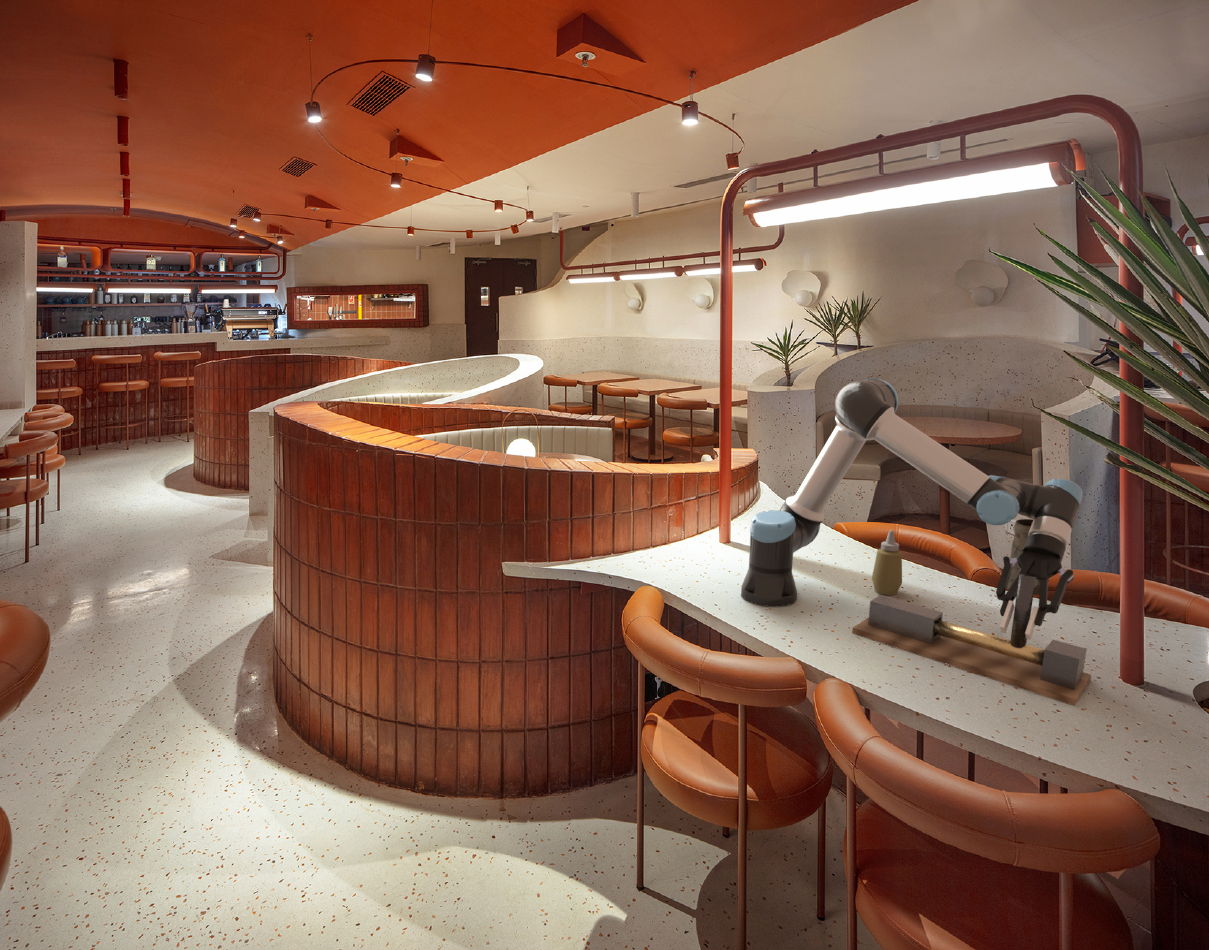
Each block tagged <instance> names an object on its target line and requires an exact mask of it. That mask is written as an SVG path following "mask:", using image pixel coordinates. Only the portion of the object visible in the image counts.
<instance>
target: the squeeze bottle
mask: <svg viewBox="0 0 1209 950" xmlns="http://www.w3.org/2000/svg"><path fill="white" fill-rule="evenodd" d="M871 581H872V585H873V588H874V591H875V592H876V593H878V594H879V595H884V596H885V595H887V596H893V595H897V594H898V592H899V590H900V588H901V585H902V584H903V554H902V552H901V551H900V544H899V543H898V542H896V539H895V531H894V530H888V533H887V537H886V539H885V541H882V542H881V544H880V549H877V551H876V555H875V560H874V566H873V570H872V575H871Z"/></svg>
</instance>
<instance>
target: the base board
mask: <svg viewBox="0 0 1209 950" xmlns="http://www.w3.org/2000/svg"><path fill="white" fill-rule="evenodd" d="M868 621H869V616H868V617H867V618H865V619H863V620H861V622H859V623H857V624H856V625H854V626H852V629H851V634H853V635H857V636H860V637H862V638H866V639H869V640H871V641H875V642H878V643H882V644H884V645H887V644H888V646H890V647H894V648H896V647H897V648H896V649H900V650H902V651H905V652H909V653H912V654H914V653H915V655H916V656H918V655H919V656H921V655H922V656H921V657H924V658H927V659H930V658H931V659H930V660H933V661H936V662H938V663H942V662H943V663H942V664H945V663H947V664H946V665H948V664H949V666H952V667H954V666H955V668H957V669H961V670H964V671H966V672H969V673H973V674H977V675H978V676H979V675H980V676H982V677H986V678H988V679H992V680H994V681H996V682H997V681H998V682H1000V683H1004V684H1007V685H1010V686H1013V687H1016V688H1019V689H1022V690H1025V691H1029V692H1031V693H1034V694H1036V695H1037V694H1038V695H1040V696H1043V697H1046V698H1049V699H1053V700H1056V701H1058V702H1062V703H1065V704H1067V705H1068V704H1069V705H1071V706H1073V707H1074V706H1075V707H1076V705H1077V703H1078V702H1079V700H1080V698H1081V697H1082V695H1083V694H1084V692H1085V690H1086V689H1087V687H1088V685H1090V683H1091V680H1092V674H1091V673H1087V672H1084V671H1083V675H1082V679H1081V681H1080V683H1079V684H1078V686H1077V687H1076V689H1075V690H1072V689H1069V688H1065V687H1062V686H1059V685H1056V684H1053V683H1049V682H1046V681H1043V680H1040V678H1041V671H1042V666H1040V665H1037V664H1034V663H1031V662H1027V661H1024V660H1021V659H1017V658H1014V657H1011V656H1007V655H1004V654H1001V653H997V652H994V651H991V650H987V649H984V648H981V647H977V646H974V645H971V644H967V643H964V642H961V641H957V640H954V639H951V638H947V637H944V636H941V635H940V638H939V639H937V640H936V641H935V642H934V643H933V644H928V643H925V642H921V641H918V640H915V639H912V638H908V637H905V636H902V635H899V634H896V633H892V632H889V631H886V630H883V629H880V628H876V627H873V626H870V625H868Z"/></svg>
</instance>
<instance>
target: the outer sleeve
mask: <svg viewBox="0 0 1209 950" xmlns="http://www.w3.org/2000/svg"><path fill="white" fill-rule="evenodd" d="M943 616H944V612H943V611H940V610H937V609H933V608H928V607H925V606H921V605H918V604H914V603H911V602H907V601H904V600H900V599H896V598H893V597H889V596H885V595H883V594H879V595H878V596H876V597H874V598H873V599H871V600H870V601H869V612H868V617H869V621H868V625H870V626H873V627H876V628H880V629H883V630H886V631H889V632H892V633H896V634H899V635H902V636H905V637H908V638H912V639H915V640H918V641H921V642H925V643H928V644H933V643H934V642H935V641H936V640H937V639H939V638H940V635H937V634H934V626H935V621H936V620H941V621H943Z"/></svg>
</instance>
